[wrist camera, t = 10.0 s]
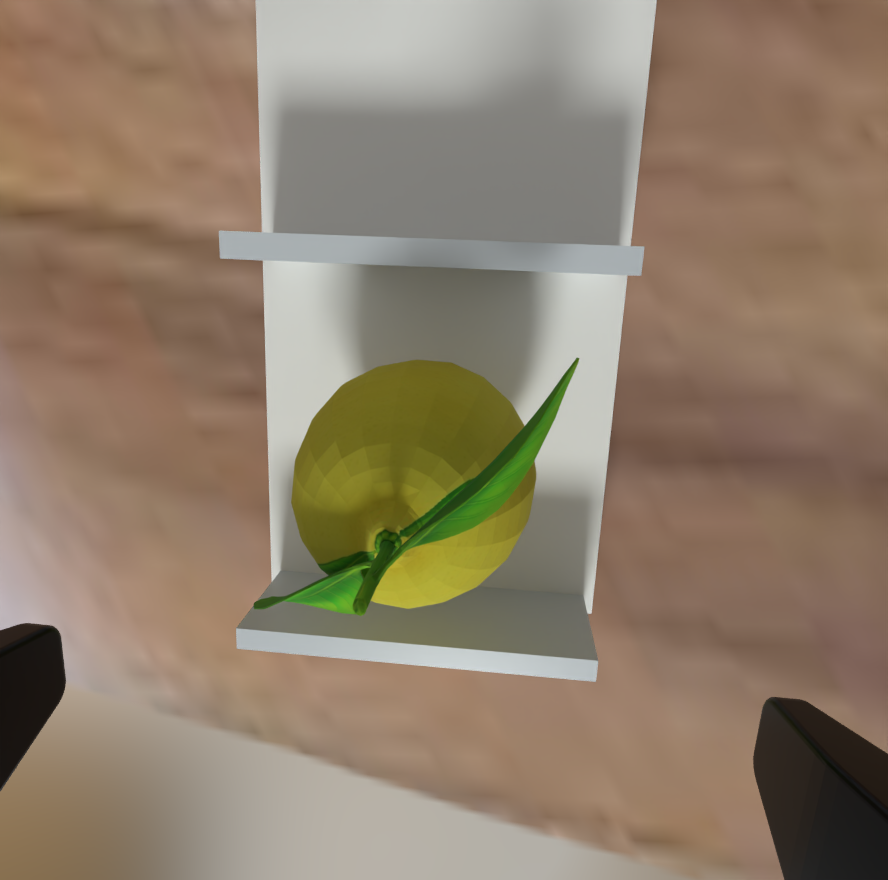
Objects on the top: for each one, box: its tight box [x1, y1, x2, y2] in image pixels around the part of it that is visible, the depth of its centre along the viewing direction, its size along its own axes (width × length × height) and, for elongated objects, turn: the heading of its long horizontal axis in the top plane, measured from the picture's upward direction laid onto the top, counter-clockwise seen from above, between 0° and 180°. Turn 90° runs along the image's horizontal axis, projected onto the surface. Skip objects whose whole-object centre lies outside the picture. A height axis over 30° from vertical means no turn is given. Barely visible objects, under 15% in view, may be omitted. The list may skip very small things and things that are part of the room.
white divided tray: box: [219, 0, 657, 682], centre depth 17 cm, size 10×21×4 cm, turn 178°
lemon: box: [254, 358, 580, 616], centre depth 14 cm, size 7×6×10 cm
